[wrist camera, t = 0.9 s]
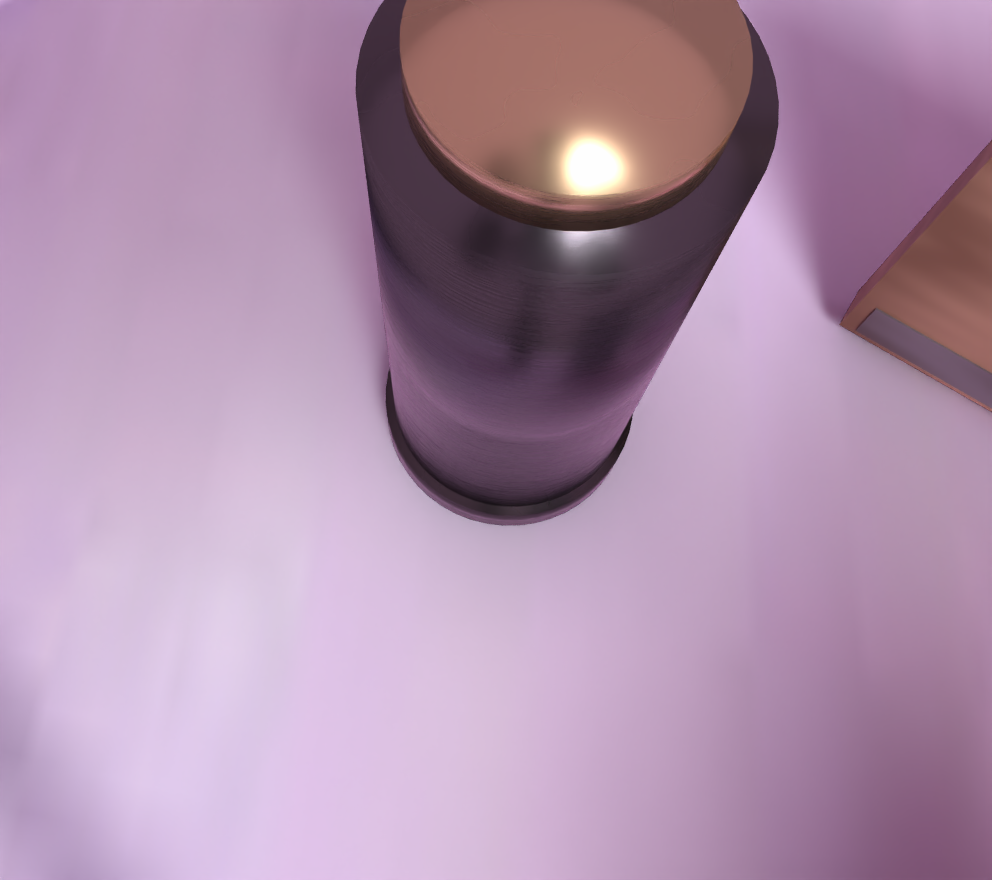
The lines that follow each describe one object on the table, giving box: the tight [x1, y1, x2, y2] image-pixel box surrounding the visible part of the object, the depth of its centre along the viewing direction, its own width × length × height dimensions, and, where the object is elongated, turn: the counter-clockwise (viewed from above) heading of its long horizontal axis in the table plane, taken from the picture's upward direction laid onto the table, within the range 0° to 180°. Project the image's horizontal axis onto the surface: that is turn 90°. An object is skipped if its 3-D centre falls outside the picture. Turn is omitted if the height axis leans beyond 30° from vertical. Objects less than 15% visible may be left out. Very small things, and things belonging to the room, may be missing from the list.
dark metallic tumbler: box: [356, 0, 779, 525], centre depth 18 cm, size 6×6×13 cm
